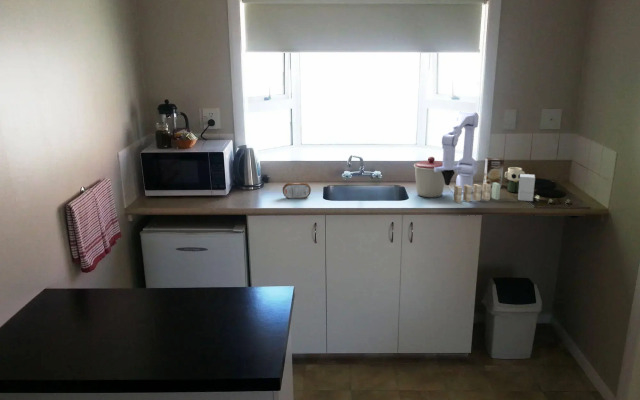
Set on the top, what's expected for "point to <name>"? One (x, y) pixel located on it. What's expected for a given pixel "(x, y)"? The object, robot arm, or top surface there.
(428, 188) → the canister
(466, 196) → the domino
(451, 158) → the robot arm
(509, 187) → the character mug
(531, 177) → the supplement box
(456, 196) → the domino
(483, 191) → the domino
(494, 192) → the end domino
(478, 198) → the domino
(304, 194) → the tin
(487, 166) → the coffee box
